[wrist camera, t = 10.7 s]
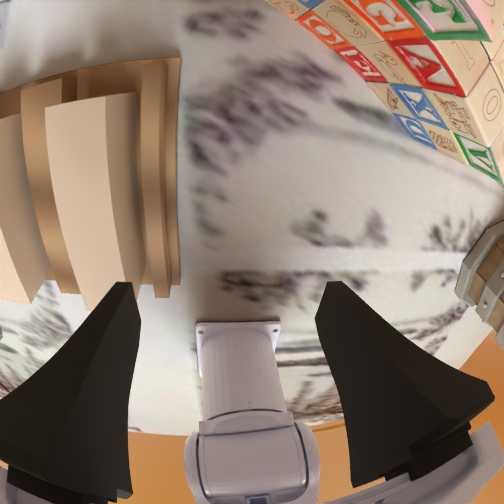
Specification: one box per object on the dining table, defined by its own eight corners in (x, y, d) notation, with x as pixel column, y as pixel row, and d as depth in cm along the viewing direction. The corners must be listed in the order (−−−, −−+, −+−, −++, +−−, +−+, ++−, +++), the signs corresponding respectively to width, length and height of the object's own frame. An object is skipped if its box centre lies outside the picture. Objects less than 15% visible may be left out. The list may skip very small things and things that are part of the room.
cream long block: (146, 263, 19) (133, 313, 15) (107, 262, 19) (87, 310, 15) (136, 91, 13) (105, 96, 9) (87, 97, 12) (44, 107, 8)
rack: (180, 278, 22) (177, 303, 19) (22, 272, 19) (9, 292, 17) (181, 58, 13) (174, 53, 10) (-14, 100, 10) (-37, 107, 8)
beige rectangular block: (56, 260, 18) (30, 303, 14) (28, 259, 18) (2, 299, 13) (29, 109, 11) (-18, 126, 7) (-1, 119, 11) (-46, 138, 7)
